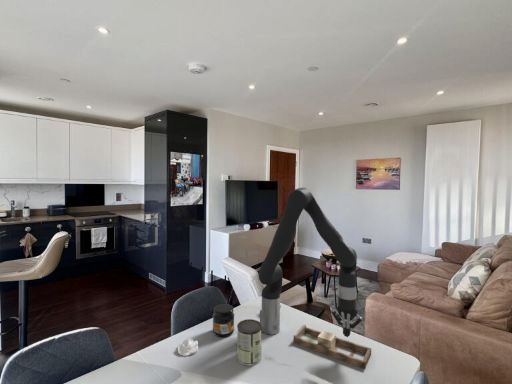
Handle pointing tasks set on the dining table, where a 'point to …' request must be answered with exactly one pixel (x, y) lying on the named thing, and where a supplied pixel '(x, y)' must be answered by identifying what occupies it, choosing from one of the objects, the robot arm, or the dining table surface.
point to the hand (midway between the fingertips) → (346, 335)
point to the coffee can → (249, 342)
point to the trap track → (310, 341)
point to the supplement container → (223, 320)
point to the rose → (188, 347)
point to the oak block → (327, 339)
